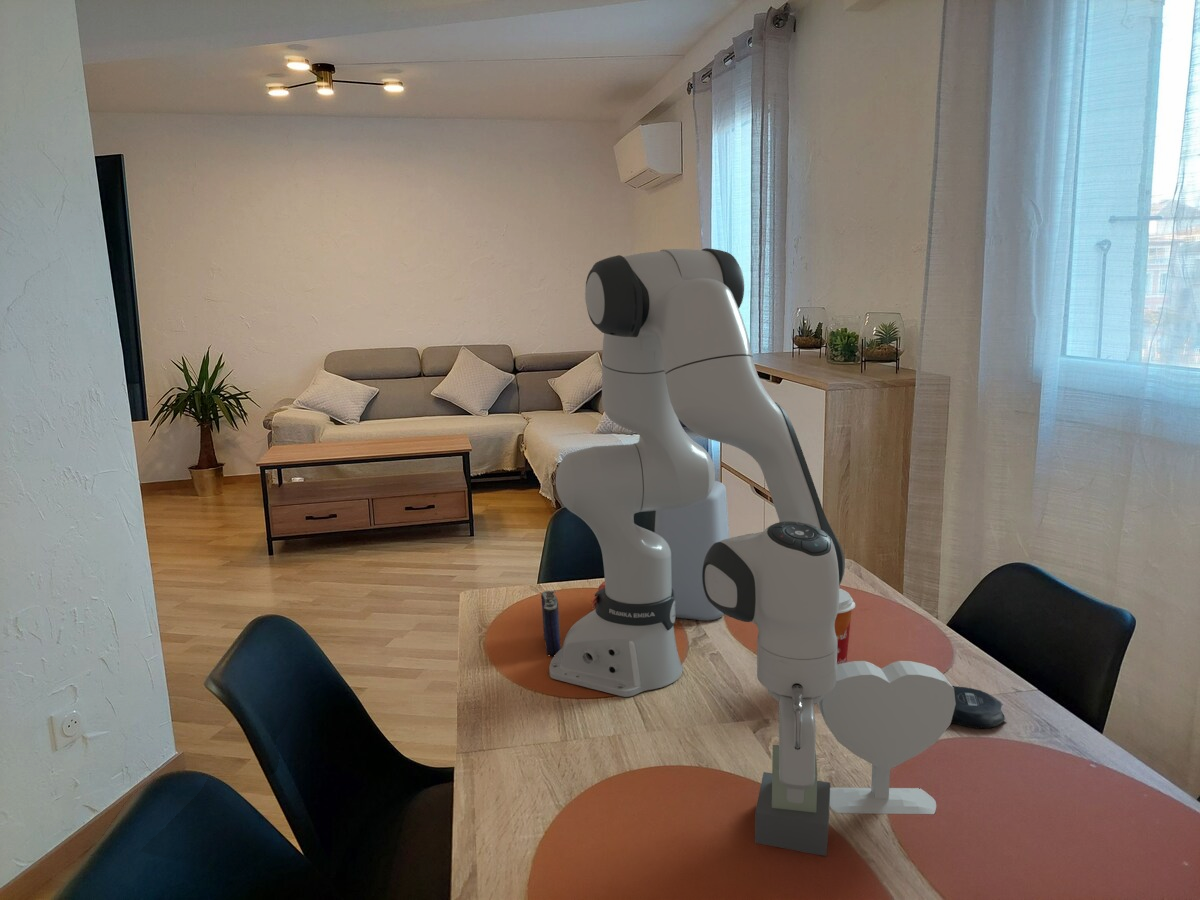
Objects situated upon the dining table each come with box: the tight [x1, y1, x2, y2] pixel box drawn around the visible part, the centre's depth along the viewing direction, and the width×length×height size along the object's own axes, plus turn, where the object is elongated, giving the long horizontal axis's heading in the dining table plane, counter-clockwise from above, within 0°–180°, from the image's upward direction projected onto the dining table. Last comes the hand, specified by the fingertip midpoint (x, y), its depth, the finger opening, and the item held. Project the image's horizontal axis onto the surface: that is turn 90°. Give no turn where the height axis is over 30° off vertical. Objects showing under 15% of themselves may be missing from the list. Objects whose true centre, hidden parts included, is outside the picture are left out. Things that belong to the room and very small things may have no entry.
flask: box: [540, 589, 562, 656], centre depth 143 cm, size 9×3×11 cm, turn 8°
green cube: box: [771, 744, 818, 813], centre depth 93 cm, size 5×5×5 cm
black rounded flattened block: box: [951, 685, 1007, 729], centre depth 118 cm, size 9×6×15 cm
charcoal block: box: [754, 771, 831, 857], centre depth 94 cm, size 8×8×4 cm
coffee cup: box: [834, 588, 856, 665], centre depth 126 cm, size 8×8×15 cm
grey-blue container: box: [654, 480, 730, 622], centre depth 157 cm, size 15×15×28 cm
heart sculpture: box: [817, 660, 956, 815], centre depth 97 cm, size 16×5×18 cm, turn 87°
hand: (794, 773), depth 93 cm, fingers open, 8 cm apart
